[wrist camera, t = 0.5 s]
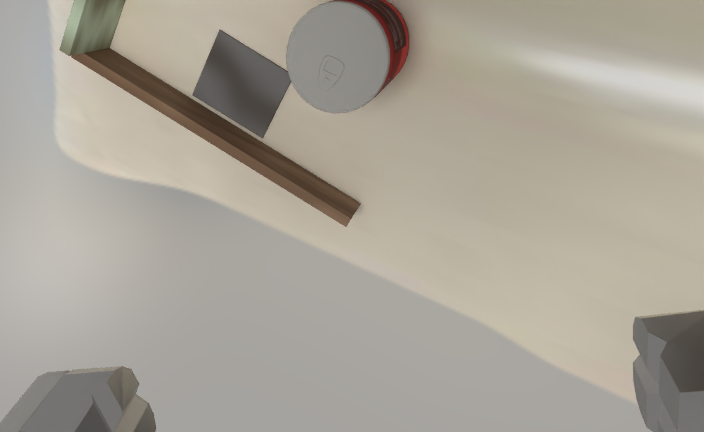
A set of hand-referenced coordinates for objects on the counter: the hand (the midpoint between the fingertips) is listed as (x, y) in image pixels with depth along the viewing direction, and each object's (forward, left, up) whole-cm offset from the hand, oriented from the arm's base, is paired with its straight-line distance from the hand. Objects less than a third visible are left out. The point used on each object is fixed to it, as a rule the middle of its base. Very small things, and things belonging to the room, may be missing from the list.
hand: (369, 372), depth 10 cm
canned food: (0, -10, -46) cm, 47 cm away
